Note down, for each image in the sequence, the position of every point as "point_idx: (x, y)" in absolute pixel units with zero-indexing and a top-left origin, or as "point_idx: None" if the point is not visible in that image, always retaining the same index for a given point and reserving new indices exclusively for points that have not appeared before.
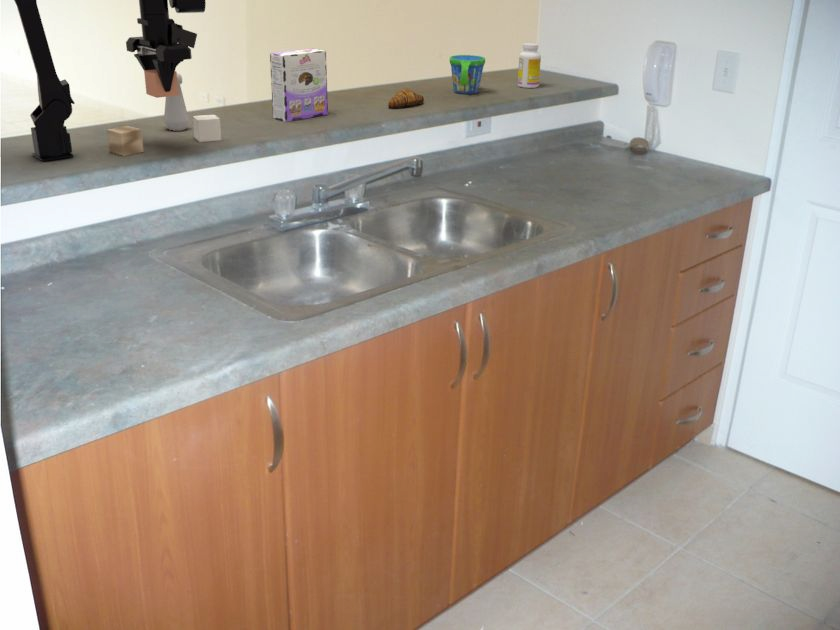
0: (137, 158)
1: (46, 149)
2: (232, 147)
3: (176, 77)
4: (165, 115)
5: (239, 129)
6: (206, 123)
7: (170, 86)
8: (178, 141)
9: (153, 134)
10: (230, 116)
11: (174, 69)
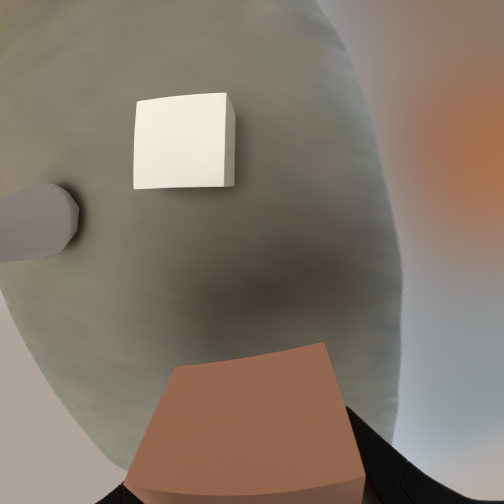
0: (348, 375)
1: None
2: (346, 114)
3: (352, 434)
4: (43, 255)
5: (123, 50)
6: (227, 151)
7: (364, 424)
8: (201, 246)
9: (100, 289)
10: (13, 80)
11: (448, 492)
